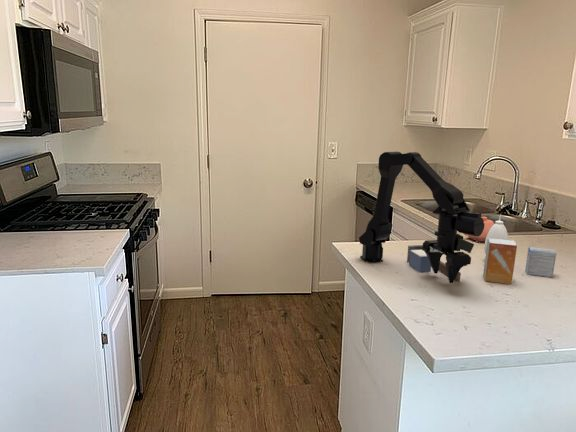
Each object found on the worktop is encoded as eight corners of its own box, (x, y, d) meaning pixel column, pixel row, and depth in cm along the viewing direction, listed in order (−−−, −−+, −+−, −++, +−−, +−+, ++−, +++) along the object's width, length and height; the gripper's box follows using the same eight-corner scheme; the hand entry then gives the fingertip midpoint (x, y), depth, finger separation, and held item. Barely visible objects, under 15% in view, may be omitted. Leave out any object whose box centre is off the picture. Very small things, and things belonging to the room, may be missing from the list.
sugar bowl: (502, 244, 194) (505, 220, 192) (468, 243, 194) (471, 219, 192) (490, 236, 206) (492, 214, 204) (458, 236, 206) (460, 213, 204)
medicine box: (550, 273, 159) (554, 249, 157) (553, 277, 155) (556, 252, 153) (524, 270, 161) (528, 246, 159) (526, 274, 157) (530, 250, 155)
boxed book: (419, 272, 157) (421, 256, 156) (408, 265, 165) (410, 249, 163) (430, 272, 158) (432, 256, 157) (419, 264, 165) (420, 249, 164)
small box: (484, 281, 150) (489, 242, 147) (482, 275, 156) (487, 237, 153) (512, 284, 147) (517, 245, 144) (509, 278, 153) (514, 240, 150)
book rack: (438, 283, 147) (439, 265, 146) (406, 261, 168) (408, 245, 167) (459, 281, 149) (461, 264, 147) (426, 260, 170) (427, 244, 168)
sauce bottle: (509, 262, 170) (515, 214, 166) (501, 267, 164) (508, 217, 161) (487, 257, 175) (493, 210, 171) (479, 262, 170) (485, 213, 166)
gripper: (489, 236, 136) (484, 286, 139) (454, 222, 154) (450, 267, 157) (455, 237, 134) (450, 289, 137) (423, 223, 151) (420, 269, 155)
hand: (443, 278), depth 146 cm, fingers open, 9 cm apart
